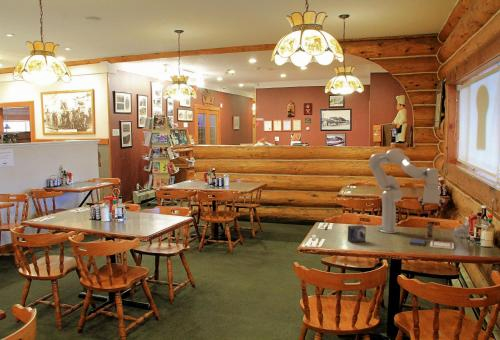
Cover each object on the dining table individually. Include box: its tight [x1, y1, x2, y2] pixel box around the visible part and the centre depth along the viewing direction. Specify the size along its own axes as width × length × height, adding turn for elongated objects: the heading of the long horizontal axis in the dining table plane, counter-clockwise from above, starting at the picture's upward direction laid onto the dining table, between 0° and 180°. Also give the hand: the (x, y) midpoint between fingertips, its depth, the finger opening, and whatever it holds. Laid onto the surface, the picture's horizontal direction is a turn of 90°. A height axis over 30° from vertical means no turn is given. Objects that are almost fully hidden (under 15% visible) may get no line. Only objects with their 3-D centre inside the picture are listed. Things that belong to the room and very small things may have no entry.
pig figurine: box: [454, 221, 470, 239], centre depth 299 cm, size 5×13×11 cm, turn 97°
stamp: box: [424, 222, 435, 242], centre depth 291 cm, size 6×6×12 cm
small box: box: [347, 224, 367, 244], centre depth 287 cm, size 11×6×10 cm, turn 101°
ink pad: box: [409, 238, 426, 247], centre depth 283 cm, size 9×12×2 cm
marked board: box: [429, 240, 455, 250], centre depth 277 cm, size 14×14×1 cm
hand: (430, 211), depth 289 cm, fingers open, 9 cm apart
